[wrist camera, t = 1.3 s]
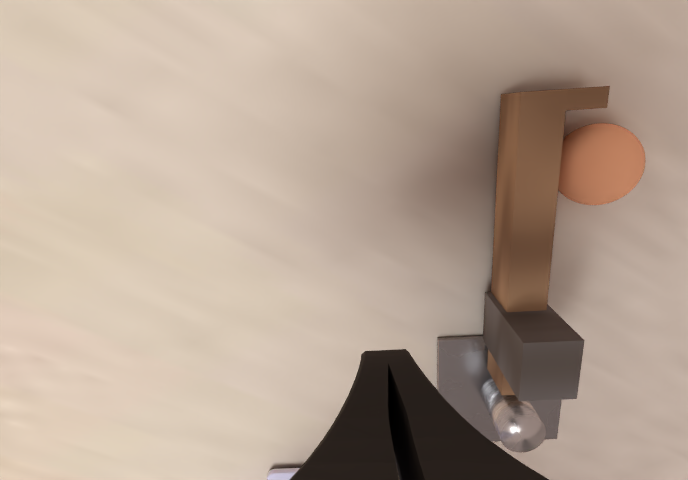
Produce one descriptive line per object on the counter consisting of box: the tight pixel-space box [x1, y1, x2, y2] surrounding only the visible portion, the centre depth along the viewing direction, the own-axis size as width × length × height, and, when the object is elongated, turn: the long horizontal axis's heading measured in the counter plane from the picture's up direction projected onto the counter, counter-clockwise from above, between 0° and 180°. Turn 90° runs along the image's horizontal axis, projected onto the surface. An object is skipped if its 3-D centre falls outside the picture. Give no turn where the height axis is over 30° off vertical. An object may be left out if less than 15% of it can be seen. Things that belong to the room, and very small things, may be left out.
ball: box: [558, 123, 645, 205], centre depth 18 cm, size 4×4×4 cm
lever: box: [483, 86, 610, 401], centre depth 18 cm, size 14×4×5 cm, turn 4°
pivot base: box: [437, 336, 561, 452], centre depth 22 cm, size 7×7×4 cm
